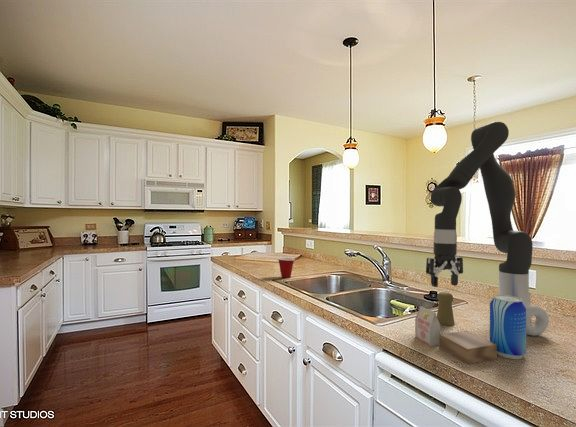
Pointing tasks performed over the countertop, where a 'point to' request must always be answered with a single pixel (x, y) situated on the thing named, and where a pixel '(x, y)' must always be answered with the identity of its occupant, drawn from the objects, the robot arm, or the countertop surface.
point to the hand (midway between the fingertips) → (444, 285)
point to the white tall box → (427, 326)
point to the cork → (445, 309)
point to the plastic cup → (286, 266)
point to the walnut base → (468, 347)
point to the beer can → (508, 326)
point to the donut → (540, 322)
